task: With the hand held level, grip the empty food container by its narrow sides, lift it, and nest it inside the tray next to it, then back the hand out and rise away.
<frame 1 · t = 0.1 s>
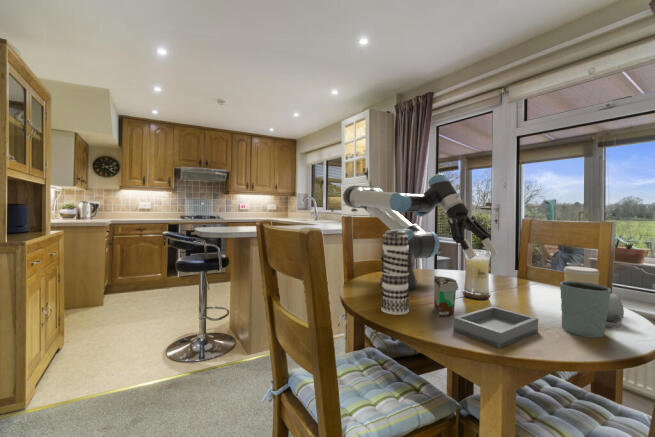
hand: (484, 256, 110), 15 cm above the table, tool tilted 35°, fingers open, 13 cm apart
tray: (495, 331, 79), on the table
teal tapered cylinder: (583, 331, 80), on the table
decorative candle: (395, 310, 96), on the table
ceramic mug: (602, 322, 87), on the table
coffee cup: (580, 304, 104), on the table
food container: (446, 313, 94), on the table
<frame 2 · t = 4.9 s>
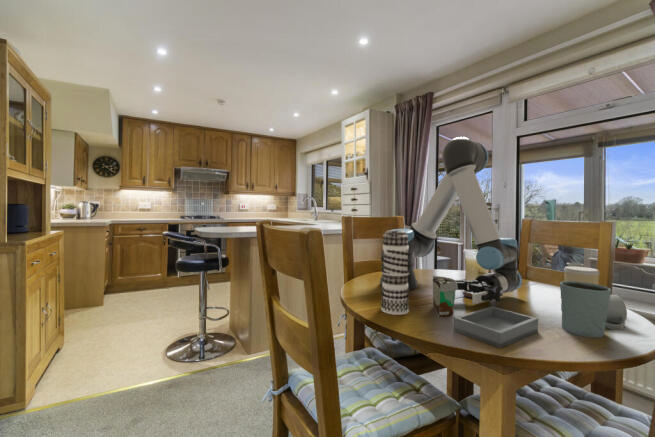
hand: (452, 293, 94), 6 cm above the table, tool horizontal, fingers open, 13 cm apart
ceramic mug: (605, 323, 86), on the table
food container: (446, 313, 94), on the table, touching gripper
everything else where it was.
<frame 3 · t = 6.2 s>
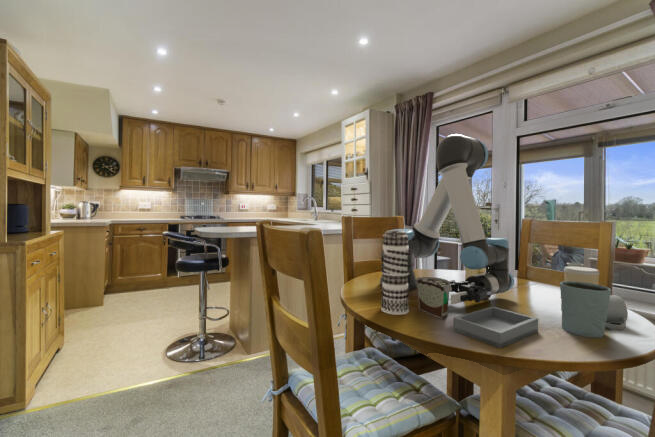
hand: (437, 295, 91), 6 cm above the table, tool horizontal, fingers open, 9 cm apart
food container: (437, 313, 94), on the table, touching gripper
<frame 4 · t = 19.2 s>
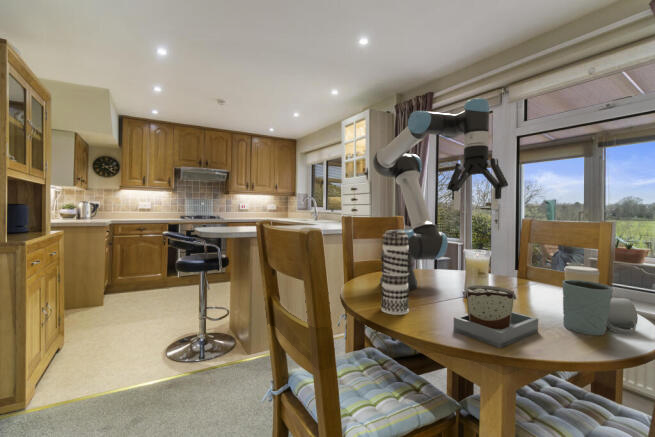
hand: (474, 209, 104), 32 cm above the table, tool pointing down, fingers open, 13 cm apart
teal tapered cylinder: (584, 329, 81), on the table
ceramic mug: (615, 328, 83), on the table
food container: (485, 326, 81), point 1 cm above the table, touching tray
everything else where it was.
at the end: food container inside the target area on the tray (2.4 cm from its centre), point 0.8 cm above the tray's base; food container tilted 0°; the gripper is holding nothing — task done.
